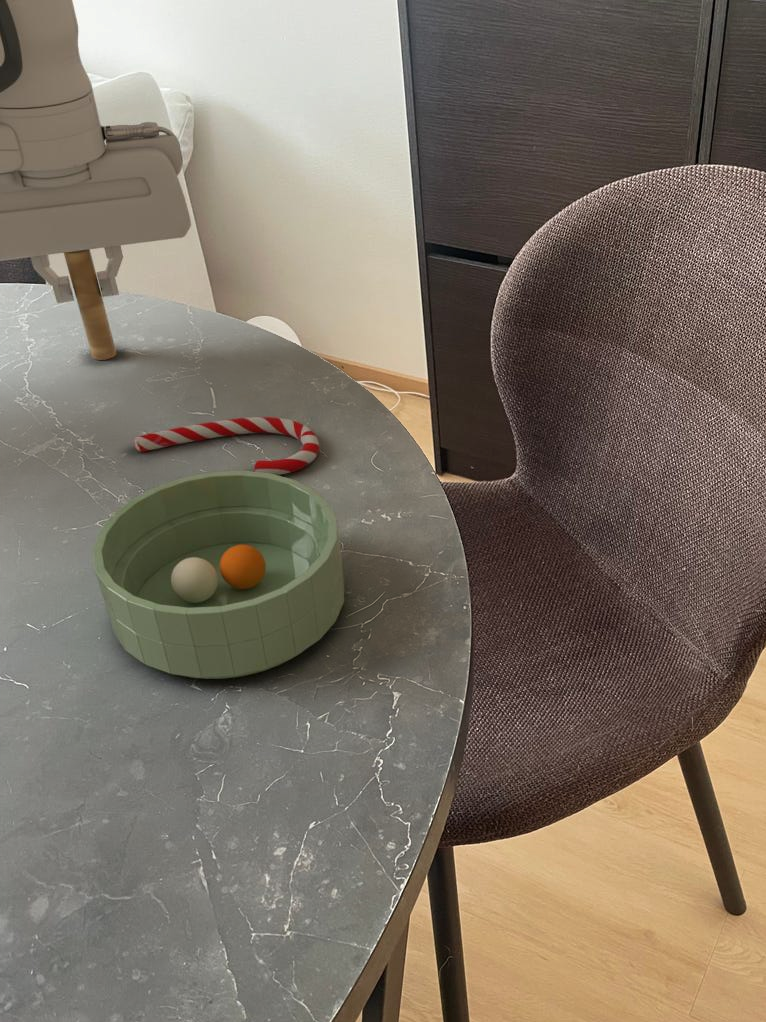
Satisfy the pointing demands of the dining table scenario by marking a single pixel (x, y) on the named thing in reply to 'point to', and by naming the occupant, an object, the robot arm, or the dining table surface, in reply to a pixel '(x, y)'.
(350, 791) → the dining table surface
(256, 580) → the orange ball
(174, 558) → the bowl
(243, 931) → the dining table surface
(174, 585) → the cream ball
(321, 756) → the dining table surface
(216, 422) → the candy cane
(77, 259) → the stirring stick
